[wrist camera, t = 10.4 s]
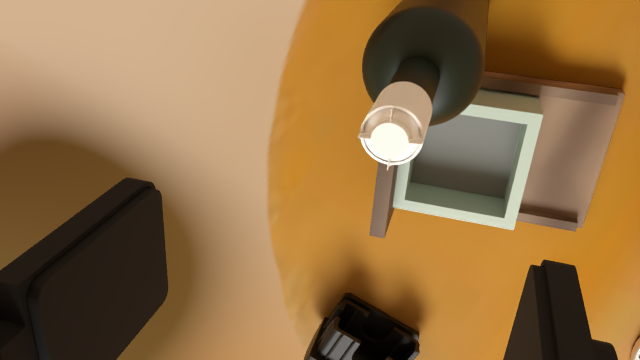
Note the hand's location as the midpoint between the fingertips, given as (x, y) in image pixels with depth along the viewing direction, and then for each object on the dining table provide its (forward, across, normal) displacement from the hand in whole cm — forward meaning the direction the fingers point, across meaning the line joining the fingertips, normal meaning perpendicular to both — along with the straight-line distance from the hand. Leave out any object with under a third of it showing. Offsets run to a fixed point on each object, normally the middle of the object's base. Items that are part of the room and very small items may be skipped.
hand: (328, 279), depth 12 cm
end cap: (+38, +3, +35) cm, 52 cm away
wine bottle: (+38, 0, 0) cm, 38 cm away
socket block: (+37, -3, +11) cm, 38 cm away
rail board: (+38, -6, +11) cm, 40 cm away
